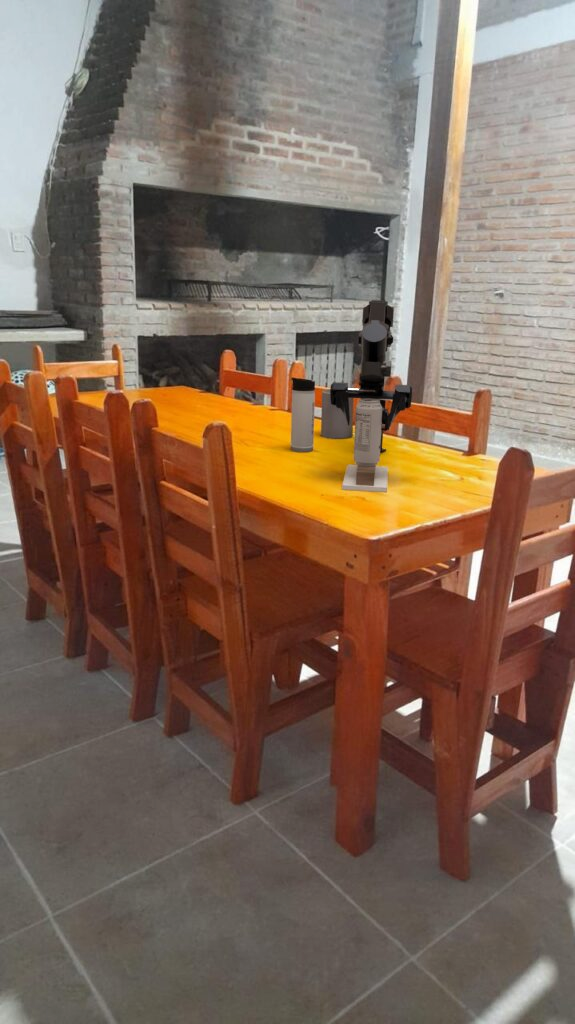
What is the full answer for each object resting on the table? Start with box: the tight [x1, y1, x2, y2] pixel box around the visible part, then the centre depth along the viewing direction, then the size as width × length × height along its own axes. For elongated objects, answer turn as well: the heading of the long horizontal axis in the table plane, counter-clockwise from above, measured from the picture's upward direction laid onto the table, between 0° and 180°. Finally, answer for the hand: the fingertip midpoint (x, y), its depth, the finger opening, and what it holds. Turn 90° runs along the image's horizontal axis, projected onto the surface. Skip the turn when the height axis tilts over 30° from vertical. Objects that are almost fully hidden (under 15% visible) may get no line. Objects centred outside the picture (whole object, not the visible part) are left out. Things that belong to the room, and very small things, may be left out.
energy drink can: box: [353, 398, 383, 467], centre depth 166 cm, size 6×6×15 cm
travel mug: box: [290, 377, 316, 453], centre depth 197 cm, size 6×7×20 cm
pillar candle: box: [320, 388, 355, 440], centre depth 218 cm, size 10×10×15 cm
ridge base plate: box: [341, 464, 389, 493], centre depth 170 cm, size 20×10×1 cm, turn 172°
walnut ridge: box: [356, 465, 377, 486], centre depth 170 cm, size 18×4×3 cm, turn 172°
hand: (368, 425), depth 164 cm, fingers open, 9 cm apart
